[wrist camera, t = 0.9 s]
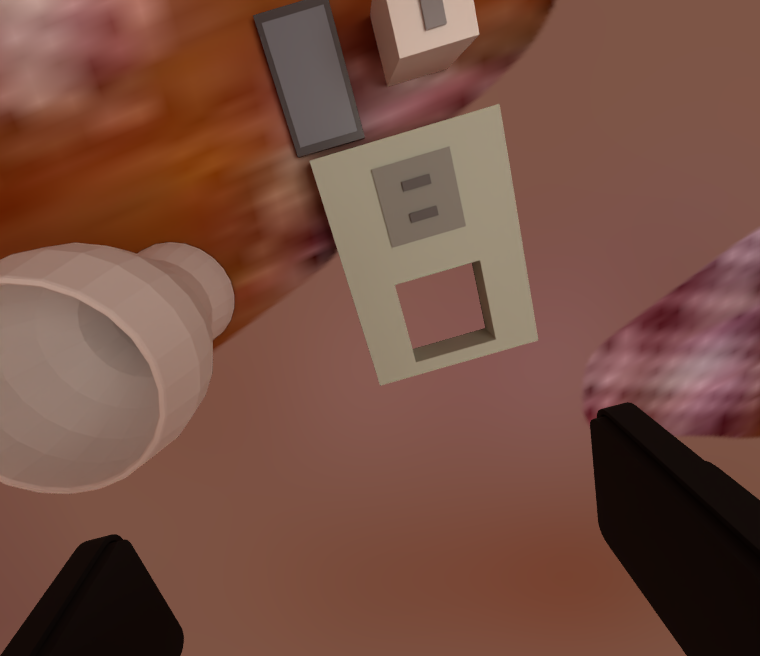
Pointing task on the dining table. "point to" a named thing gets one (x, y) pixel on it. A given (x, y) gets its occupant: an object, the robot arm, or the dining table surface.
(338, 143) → the phone
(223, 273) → the cup
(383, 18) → the block
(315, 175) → the outlet board
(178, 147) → the dining table surface
